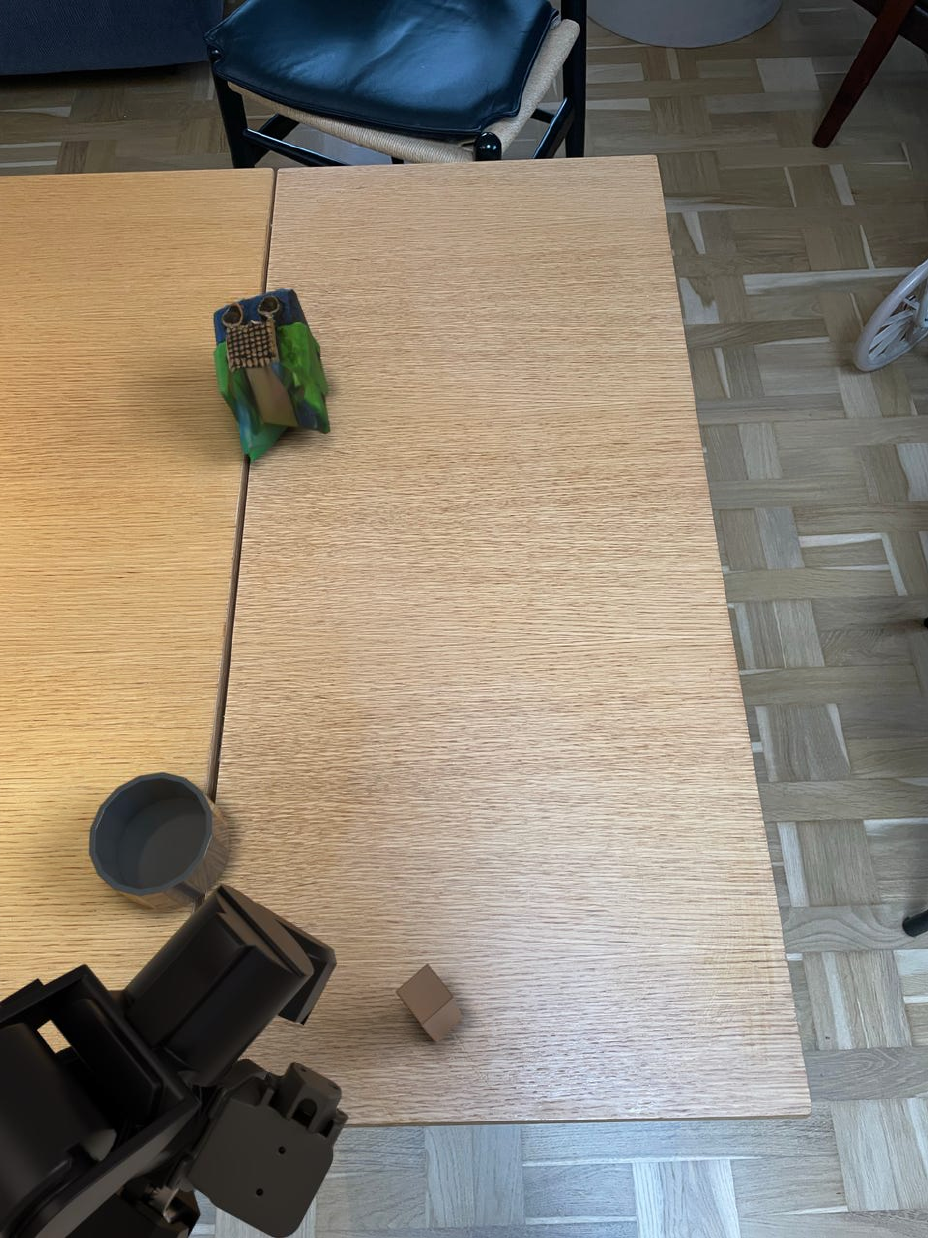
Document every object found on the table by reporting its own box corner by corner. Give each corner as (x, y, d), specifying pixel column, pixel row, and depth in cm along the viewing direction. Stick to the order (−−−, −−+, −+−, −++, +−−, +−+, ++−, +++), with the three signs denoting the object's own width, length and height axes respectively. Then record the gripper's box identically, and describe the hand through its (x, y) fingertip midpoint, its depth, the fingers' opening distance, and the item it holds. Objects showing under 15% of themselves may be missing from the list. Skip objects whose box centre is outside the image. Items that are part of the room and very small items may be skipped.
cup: (173, 934, 76) (149, 921, 72) (91, 862, 79) (63, 845, 75) (254, 837, 80) (237, 819, 75) (172, 772, 83) (151, 750, 78)
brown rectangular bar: (436, 1043, 72) (421, 1026, 60) (414, 1014, 73) (395, 991, 61) (463, 1018, 73) (453, 996, 61) (441, 990, 74) (427, 963, 62)
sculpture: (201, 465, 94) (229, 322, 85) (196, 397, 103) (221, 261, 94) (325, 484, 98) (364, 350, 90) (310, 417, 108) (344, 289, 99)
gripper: (155, 1437, 40) (282, 1316, 54) (383, 1005, 44) (445, 999, 59) (-40, 1272, 43) (129, 1199, 58) (190, 885, 47) (293, 908, 62)
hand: (254, 1075), depth 59 cm, fingers open, 9 cm apart
